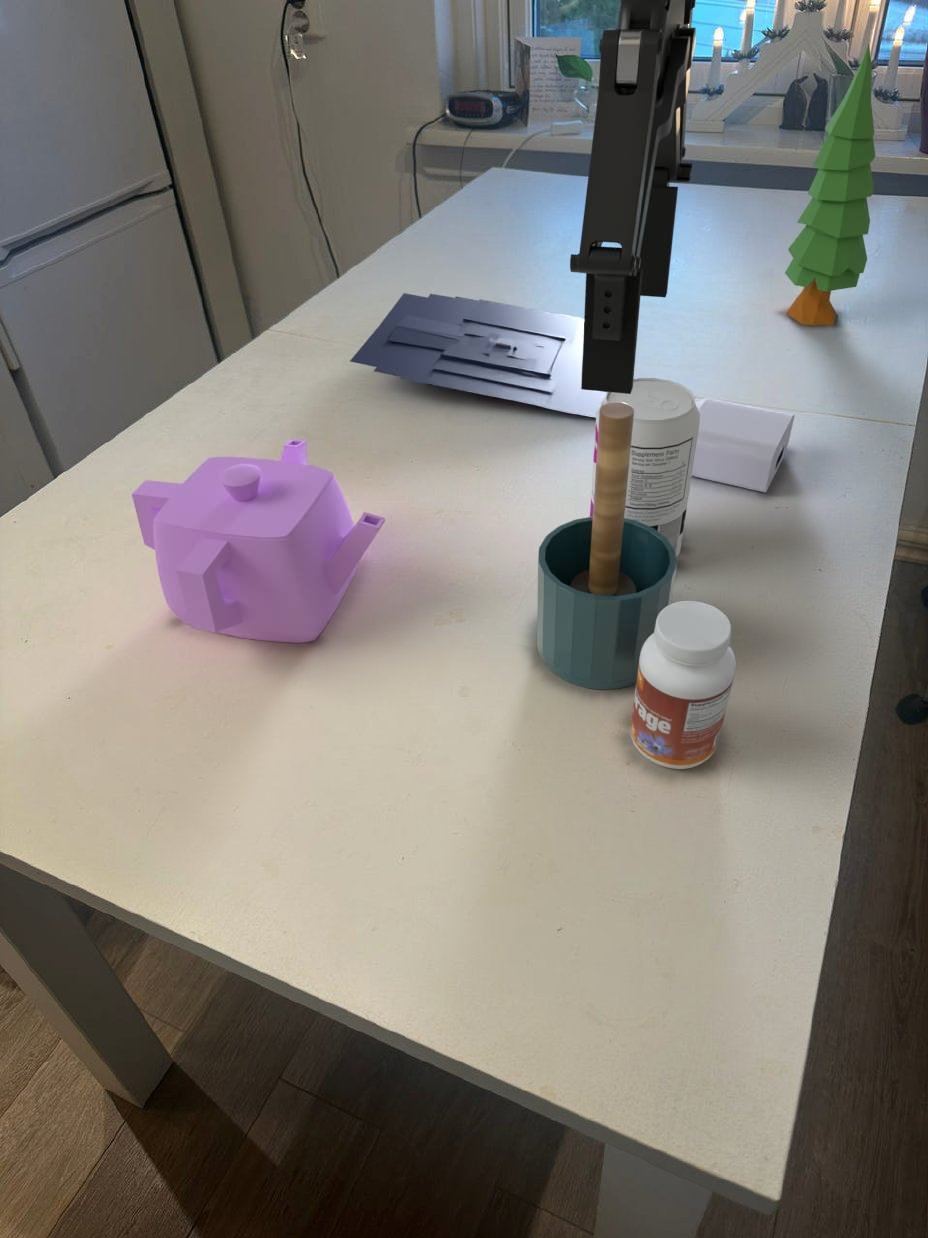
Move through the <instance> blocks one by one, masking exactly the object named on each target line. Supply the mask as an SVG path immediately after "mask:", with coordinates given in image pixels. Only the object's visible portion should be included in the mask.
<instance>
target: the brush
mask: <svg viewBox="0 0 928 1238" xmlns="http://www.w3.org/2000/svg"><path fill="white" fill-rule="evenodd" d="M633 419H634V409H633V407H632V406H630V405H628V404H626V403H621V402H611V403H607V404H604V405H603V406H602V407H601V408H600V413H599V428H598V444H597V459H596V475H595V490H594V506H593V521H592V537H591V552H590V568H589V570H586V571H583V572H581V573H579V574H578V575H577V576H575V577H574V578H573V580H572V581H571V584H570V587H572V588H574V589H576V590H578V591H581V592H585V593H590V594H594V595H599V596H622V595H627V594H633V593H636V587H635V584H634V582H633V581H632V580H631V579H630V578H629V577H628V576H627V575H625V574H623V573H621V572H619V568H620V557H621V547H622V536H623V525H624V515H625V504H626V494H627V483H628V472H629V462H630V451H631V440H632V430H633Z"/></svg>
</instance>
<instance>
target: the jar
mask: <svg viewBox="0 0 928 1238" xmlns="http://www.w3.org/2000/svg"><path fill="white" fill-rule="evenodd" d="M592 521H593V517H590V516H588V517H582V518H576V519H573V520H571V521H568V522H566V523H564V524H561V525H559V526H557V527H556V528H554V529H553V530H552V531H550V532H549V533H548V534H547V535H546V536H545V537H544V539H543V541H542V542H541V544H540V545H539V546H538V558H537V618H536V619H537V621H536V623H537V624H536V625H537V626H536V627H537V629H536V645H537V651H538V654H539V656H540V659H541V661H542V662H543V663H544V665H545V667H546V668H547V669H549V670H550V671H551V672H552V673H553V674H554V675H556V676H557V677H558V678H560V679H562V680H563V681H564V682H565V681H566V682H568V683H569V684H572V685H574V686H575V685H576V686H578V687H582V688H586V689H593V690H616V689H622V688H627V687H630V686H634V685H636V682H637V674H638V666H639V658H640V653H641V650H642V647H643V645H644V643H645V641H646V640H647V639H648V638H649V637H650V636H651V635H652V634H653V633H654V630H655V625H656V620H657V617H658V615H659V613H660V612H661V611H662V610H663V609H664V608H665V607H667V606H668V605H670V604H672V602H673V595H674V587H675V582H676V575H677V567H678V561H677V557H676V552H675V550H674V548H673V547H672V545H671V544H670V542H669V541H668V539H667V538H666V537H664V536H663V535H662V534H661V533H659V532H658V531H657V530H655V529H654V528H652V527H650V526H647V525H645V524H642V523H640V522H638V521H635V520H630V519H625V518H624V525H623V536H622V547H621V557H620V568H619V572H621V573H623V574H625V575H627V576H628V577H629V578H630V579H631V580H632V581H633V582H634V584H635V587H636V593H633V594H627V595H622V596H599V595H594V594H590V593H585V592H581V591H578V590H576V589H574V588H572V587H570V584H571V581H572V580H573V578H574V577H575V576H577V575H578V574H579V573H581V572H583V571H586V570H589V568H590V552H591V537H592Z"/></svg>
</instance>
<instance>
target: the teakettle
mask: <svg viewBox="0 0 928 1238" xmlns="http://www.w3.org/2000/svg"><path fill="white" fill-rule="evenodd" d="M307 447H308V446H307V440H306V439H295V438H292V439H290V440H288V441H287V442H286V443H284V444H283V450H282V454H281V458H280V460H276V459H268V458H257V457H256V458H255V457H241V456H212V457H208V458H207V459H206V460H205V461H203V463H202V464H200V465H199V466H198V467H197V468H196V469H195V470H194V471H193V472H192V473H191V474H190V475H189V476H188V478H187V479H186V480H184V482H183V483H179V482H170V481H169V482H168V481H160V480H159V481H158V480H150V479H145V480H144V481H143V482H142V483H141V484H140V485H139V486H138V487H137V488H136V489H135V490H134V491H133V492H132V493H131V498H132V501H133V505H134V509H135V513H136V517H137V521H138V525H139V529H140V533H141V536H142V540H143V544H144V545H145V546H147V547H148V548H150V549H152V550H154V553H155V562H156V566H157V567H156V568H157V573H158V577H159V582H160V587H161V590H162V594H163V596H164V599H165V603H166V604H167V606H168V608H170V610H171V612H172V613H173V614H174V615H175V617H177V619H179V620H180V621H181V622H182V623H183V624H185V625H188V626H190V629H195V630H200V631H205V632H211V633H216V634H221V635H225V636H230V637H235V638H241V639H248V640H257V641H265V642H266V641H267V642H276V643H277V642H278V643H295V644H303V643H310V642H313V641H315V640H316V639H317V638H319V636H320V635H321V634H322V632H323V630H324V629H325V628H326V626H327V625H328V623H329V621H330V620H331V619H332V617H333V615H334V613H335V612H336V610H337V609H338V607H339V605H340V603H341V602H342V600H343V598H344V596H345V595H346V593H347V591H348V589H349V587H350V585H351V583H352V581H353V579H354V577H355V574H356V572H357V568H358V563H359V562H360V561H361V559H362V557H363V556H364V555H365V553H366V552H367V550H368V548H369V547H370V545H371V544H372V542H373V541H374V539H375V538H376V537H377V535H378V533H379V532H380V530H381V528H382V527H383V525H384V524H385V523H386V521H385V520H386V517H382V516H379V515H376V514H372V513H369V512H365V511H363V512H362V514H361V516H360V517H359V519H358V521H357V522H356V524H355V523H354V520H353V517H352V514H351V511H350V508H349V505H348V503H347V500H346V498H345V496H344V494H343V492H342V489H341V487H340V484H339V482H338V480H337V478H336V476H335V474H334V473H333V472H332V471H330V470H328V469H326V468H322V467H318V466H312V465H309V461H308V448H307Z"/></svg>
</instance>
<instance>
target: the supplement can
mask: <svg viewBox="0 0 928 1238" xmlns="http://www.w3.org/2000/svg"><path fill="white" fill-rule="evenodd" d="M611 402H621V403H626V404H628V405H630V406H632V407H633V409H634V419H633V430H632V440H631V451H630V462H629V472H628V483H627V494H626V504H625V515H624V518H625V519H630V520H635V521H638V522H640V523H642V524H645V525H647V526H650V527H652V528H654V529H655V530H657V531H658V532H659V533H661V534H662V535H663V536H664V537H666V538H667V539H668V541H669V542H670V544H671V545H672V547H673V548H674V550H675V552H676V558H677V557H678V556H679V555H680V554H681V549H682V548H681V547H682V541H683V535H684V529H685V523H686V515H687V510H688V509H687V508H688V503H689V495H690V489H691V482H692V477H693V476H692V470H693V464H694V457H695V451H696V444H697V437H698V431H699V424H700V416H701V415H700V413H699V411H698V408H697V406H696V404H695V403H696V397H695V396H694V393H693V392H692V390H690V389H689V388H687V387H686V386H684V385H683V384H681V383H678V382H674V381H672V380H670V379H664V378H657V377H638V378H637V377H635V378H634V379H633V388H632V391H631V394H624V393H614V392H607V394H606V397H605V398H604V400H603V401H602V403H601V404H600V406H599V408H598V411H597V415H596V418H595V427H594V445H593V459H592V460H593V461H592V477H591V490H590V491H591V492H590V508H589V517H593V506H594V490H595V475H596V459H597V444H598V428H599V413H600V408H601V407H602V406H603V405H604V404H607V403H611Z"/></svg>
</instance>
